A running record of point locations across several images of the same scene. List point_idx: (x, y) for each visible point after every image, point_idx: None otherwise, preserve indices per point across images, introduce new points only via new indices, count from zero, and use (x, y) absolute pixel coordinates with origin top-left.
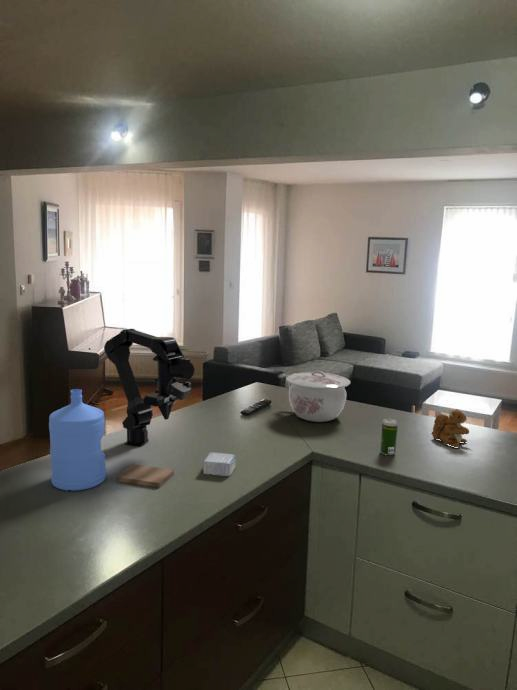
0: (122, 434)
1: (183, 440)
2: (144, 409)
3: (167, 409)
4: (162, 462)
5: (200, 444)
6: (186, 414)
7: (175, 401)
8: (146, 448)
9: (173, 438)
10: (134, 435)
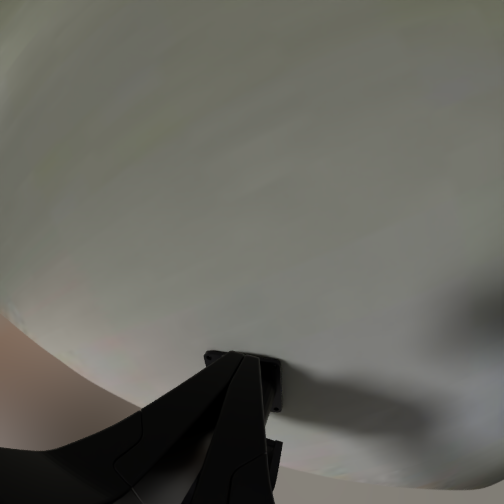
0: None
1: (129, 216)
2: (190, 498)
3: (248, 477)
4: (438, 191)
5: (132, 115)
6: (5, 297)
7: (5, 460)
8: (288, 333)
9: (133, 267)
10: (265, 413)
